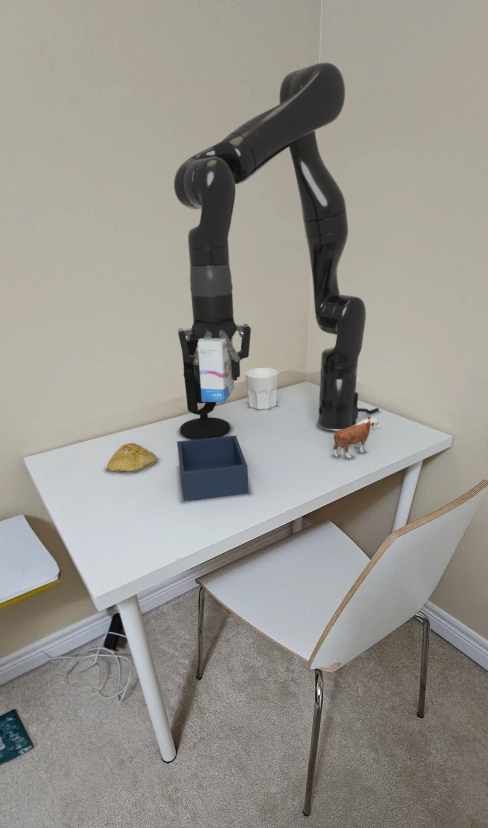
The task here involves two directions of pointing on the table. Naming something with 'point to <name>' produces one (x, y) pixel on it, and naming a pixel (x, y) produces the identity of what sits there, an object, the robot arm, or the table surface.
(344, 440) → the bull figurine
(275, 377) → the cup
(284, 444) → the table surface
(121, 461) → the fossil
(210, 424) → the microphone
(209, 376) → the ink box
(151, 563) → the table surface
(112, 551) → the table surface
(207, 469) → the box
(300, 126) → the robot arm
